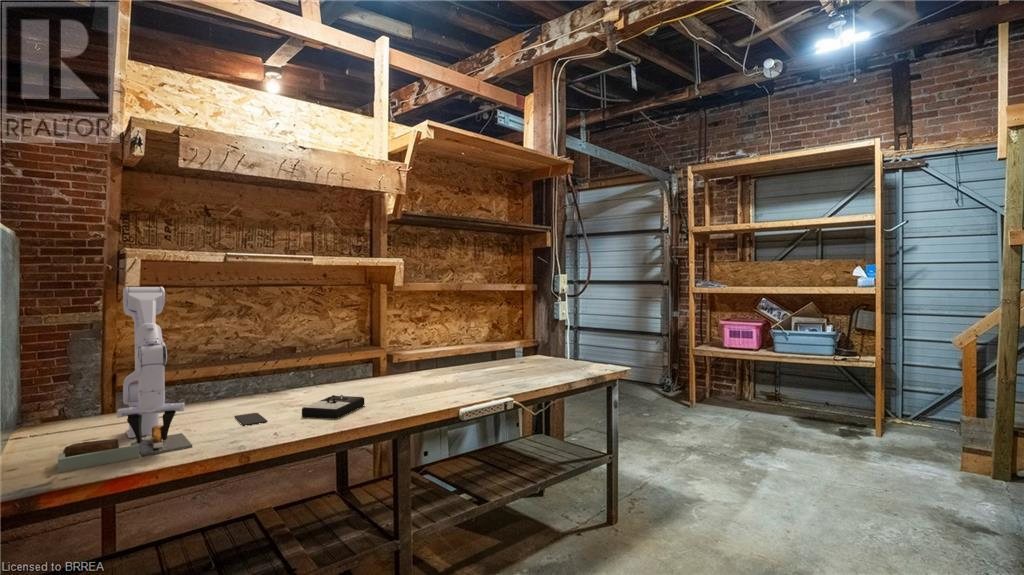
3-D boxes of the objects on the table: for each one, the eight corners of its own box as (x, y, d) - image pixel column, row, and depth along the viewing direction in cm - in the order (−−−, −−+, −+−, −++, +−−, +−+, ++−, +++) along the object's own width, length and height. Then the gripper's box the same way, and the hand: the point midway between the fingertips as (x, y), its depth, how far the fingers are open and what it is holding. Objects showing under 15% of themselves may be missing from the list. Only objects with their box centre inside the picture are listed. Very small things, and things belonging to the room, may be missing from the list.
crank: (146, 440, 140) (146, 421, 140) (163, 437, 143) (163, 418, 143) (149, 449, 132) (149, 429, 132) (167, 446, 135) (167, 426, 135)
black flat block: (365, 406, 184) (364, 393, 184) (336, 420, 166) (336, 405, 166) (332, 405, 187) (332, 391, 187) (301, 418, 168) (301, 403, 168)
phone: (257, 412, 174) (268, 420, 162) (257, 414, 174) (268, 423, 162) (233, 415, 169) (242, 424, 157) (233, 418, 169) (242, 427, 157)
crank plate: (135, 443, 141) (135, 440, 141) (181, 435, 148) (181, 432, 148) (142, 456, 130) (142, 453, 130) (192, 447, 137) (192, 444, 137)
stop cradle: (57, 466, 123) (57, 453, 123) (136, 451, 133) (136, 440, 133) (57, 472, 119) (57, 459, 119) (139, 457, 129) (139, 445, 129)
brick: (119, 455, 131) (119, 437, 131) (113, 460, 127) (113, 442, 127) (69, 460, 127) (68, 442, 127) (61, 466, 123) (60, 447, 123)
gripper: (114, 395, 127) (114, 449, 127) (182, 390, 133) (182, 440, 134) (120, 390, 133) (120, 441, 133) (185, 385, 140) (185, 433, 140)
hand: (152, 440), depth 134 cm, fingers open, 5 cm apart
